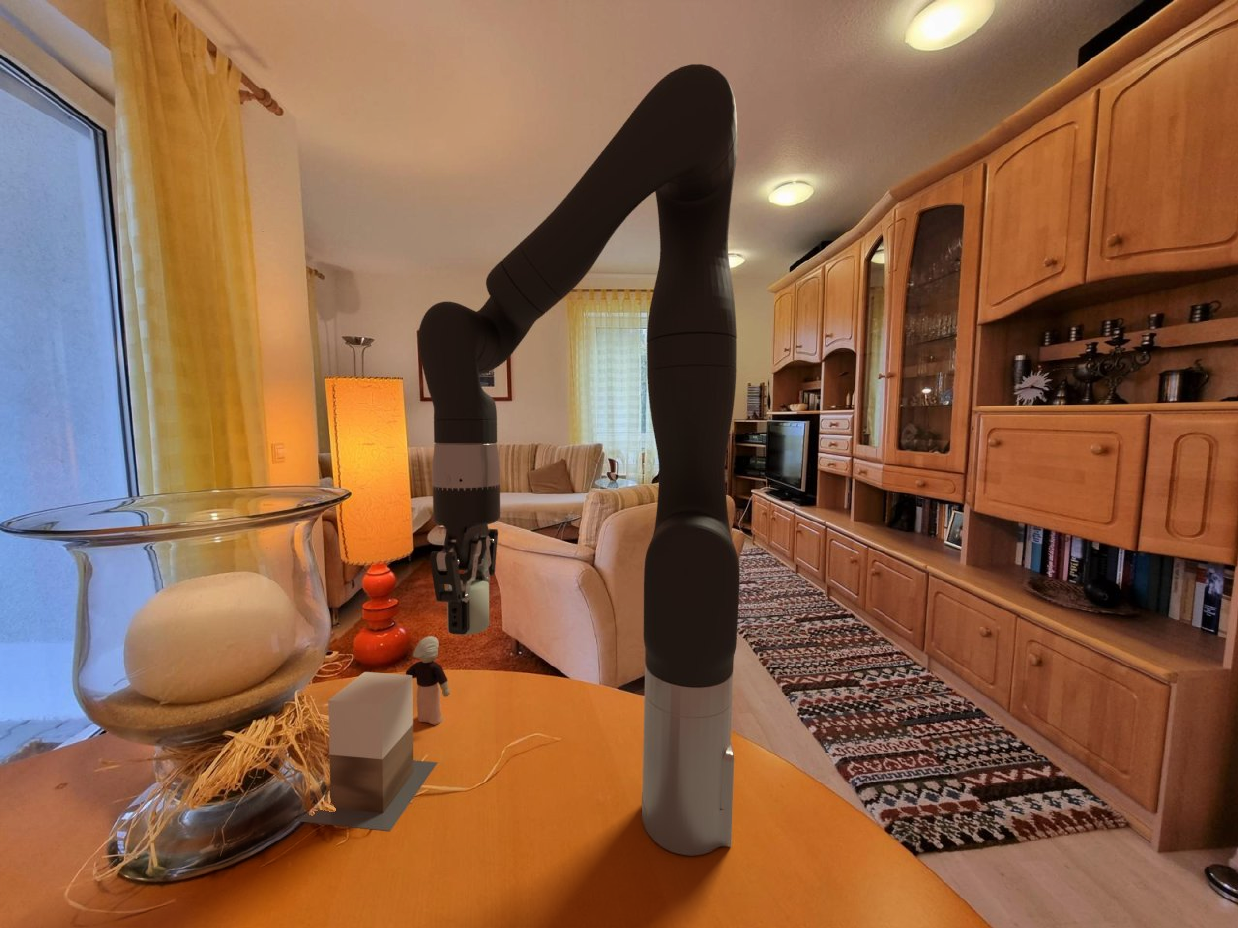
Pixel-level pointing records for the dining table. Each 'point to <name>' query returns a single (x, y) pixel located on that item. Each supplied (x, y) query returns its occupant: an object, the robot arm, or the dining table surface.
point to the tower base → (371, 777)
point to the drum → (477, 607)
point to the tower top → (370, 715)
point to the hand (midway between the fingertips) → (469, 622)
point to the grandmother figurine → (428, 681)
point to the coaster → (373, 818)
